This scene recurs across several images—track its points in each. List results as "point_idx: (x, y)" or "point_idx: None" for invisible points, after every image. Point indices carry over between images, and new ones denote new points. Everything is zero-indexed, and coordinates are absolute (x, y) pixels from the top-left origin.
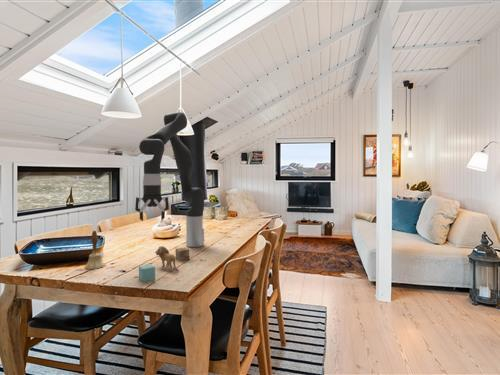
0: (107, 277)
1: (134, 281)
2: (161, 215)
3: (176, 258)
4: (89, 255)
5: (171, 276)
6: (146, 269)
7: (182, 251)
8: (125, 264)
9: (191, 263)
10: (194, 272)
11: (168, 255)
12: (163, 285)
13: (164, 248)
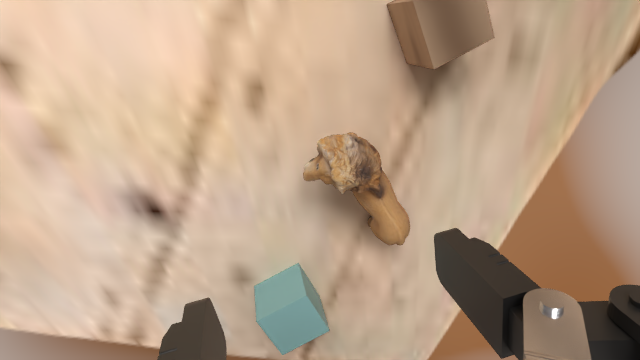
0: (114, 285)
1: (248, 317)
2: (468, 313)
3: (393, 19)
4: None
5: (374, 269)
6: (297, 344)
7: (449, 58)
8: (108, 98)
9: (461, 109)
10: None
11: (381, 223)
12: (353, 341)
13: (365, 182)
